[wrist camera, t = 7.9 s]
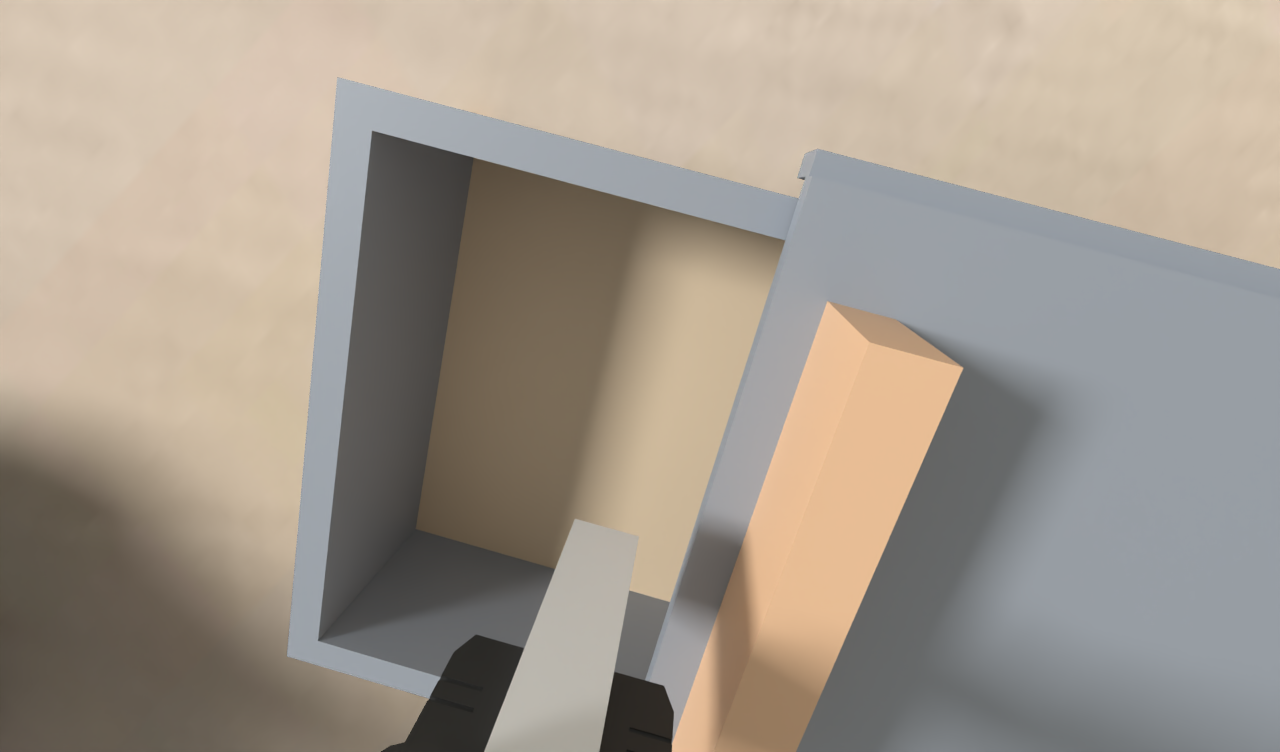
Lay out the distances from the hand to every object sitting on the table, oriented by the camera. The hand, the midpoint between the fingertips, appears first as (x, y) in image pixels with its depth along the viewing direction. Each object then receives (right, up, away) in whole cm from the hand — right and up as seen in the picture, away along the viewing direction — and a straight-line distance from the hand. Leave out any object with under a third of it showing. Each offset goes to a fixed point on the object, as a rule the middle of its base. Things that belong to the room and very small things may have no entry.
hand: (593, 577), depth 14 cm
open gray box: (+1, +3, +11) cm, 12 cm away
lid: (+12, -2, +4) cm, 13 cm away
